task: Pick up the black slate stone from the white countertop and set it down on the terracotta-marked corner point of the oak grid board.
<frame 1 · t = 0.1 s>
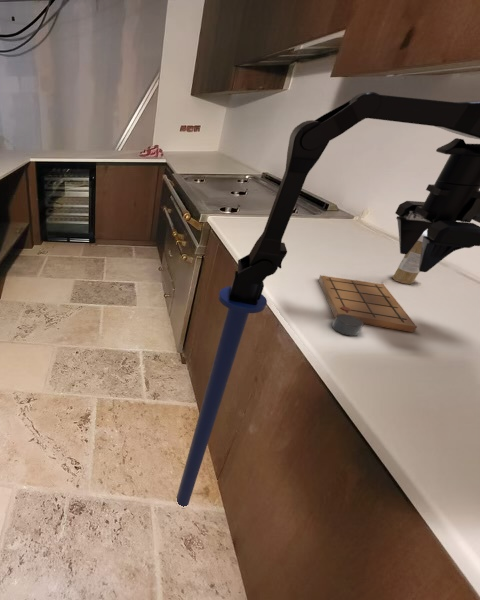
hand: (412, 262, 65), 14 cm above the worktop, tool pointing down, fingers open, 9 cm apart
sprinkles bottle: (402, 281, 87), on the worktop
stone: (344, 329, 69), on the worktop
board: (359, 302, 78), on the worktop
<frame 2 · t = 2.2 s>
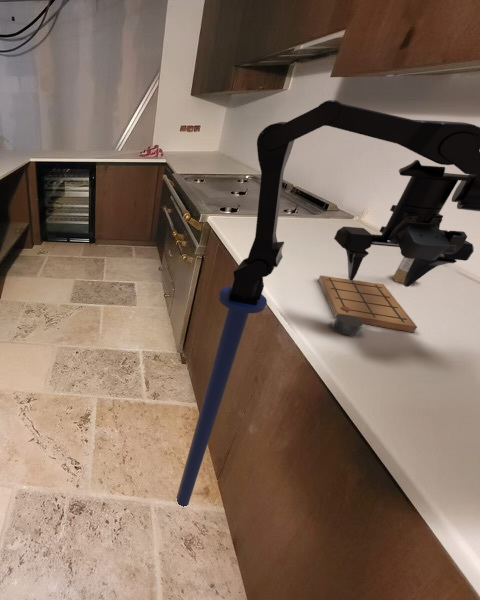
hand: (377, 282, 64), 11 cm above the worktop, tool pointing down, fingers open, 9 cm apart
nothing on the worktop moved.
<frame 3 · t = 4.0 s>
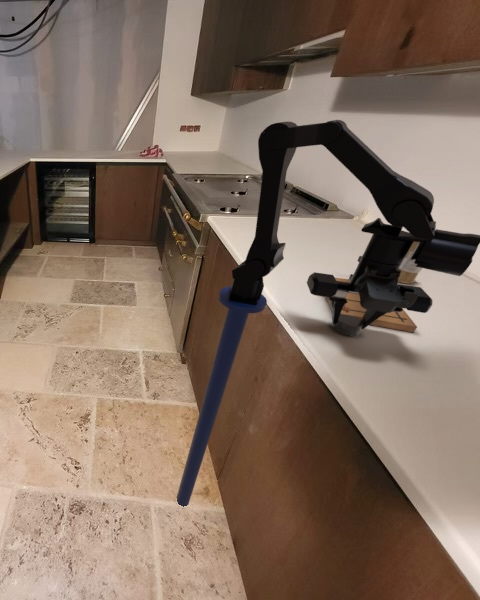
hand: (346, 325, 68), 1 cm above the worktop, tool pointing down, fingers closed on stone, 4 cm apart
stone: (344, 329, 69), on the worktop, touching gripper
everything else where it was.
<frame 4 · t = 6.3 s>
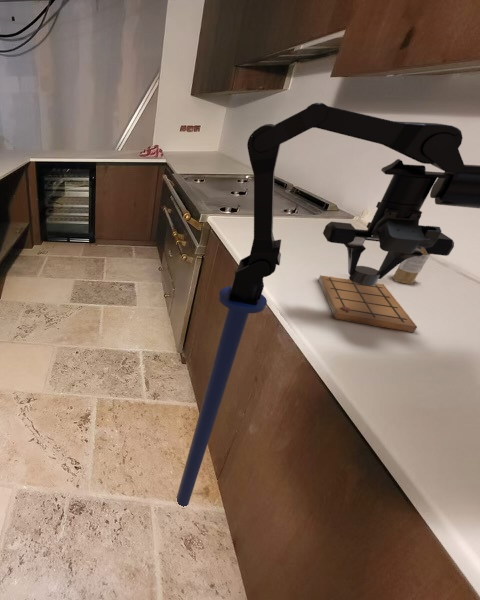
hand: (363, 276, 67), 11 cm above the worktop, tool pointing down, fingers closed on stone, 4 cm apart
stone: (361, 280, 68), point 9 cm above the worktop, touching gripper
everything else where it was.
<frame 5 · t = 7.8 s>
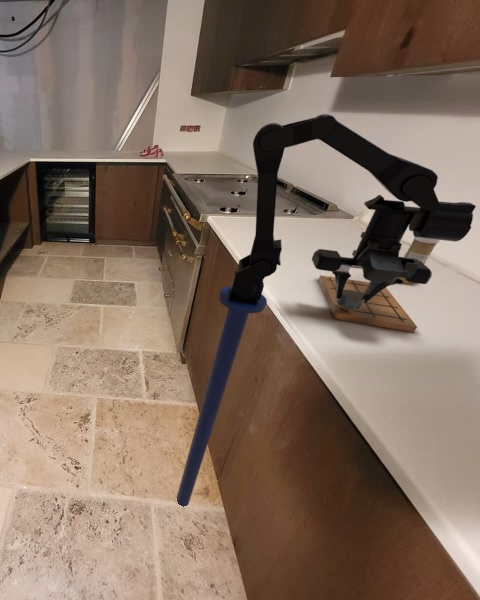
hand: (350, 299, 72), 4 cm above the worktop, tool pointing down, fingers closed on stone, 4 cm apart
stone: (348, 303, 72), point 3 cm above the worktop, touching gripper
everything else where it was.
when the fingers open (3 cm above the worktop, at t = 8.6 s): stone stays where it is, resting on board.
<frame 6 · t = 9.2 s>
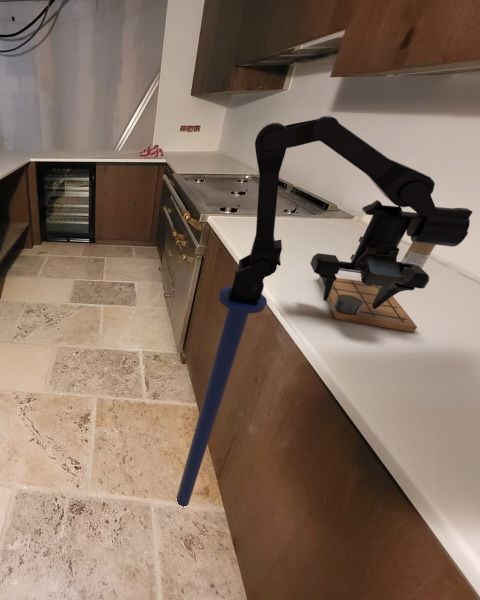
hand: (348, 303, 72), 3 cm above the worktop, tool pointing down, fingers open, 9 cm apart
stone: (345, 308, 73), point 2 cm above the worktop, touching board
everything else where it was.
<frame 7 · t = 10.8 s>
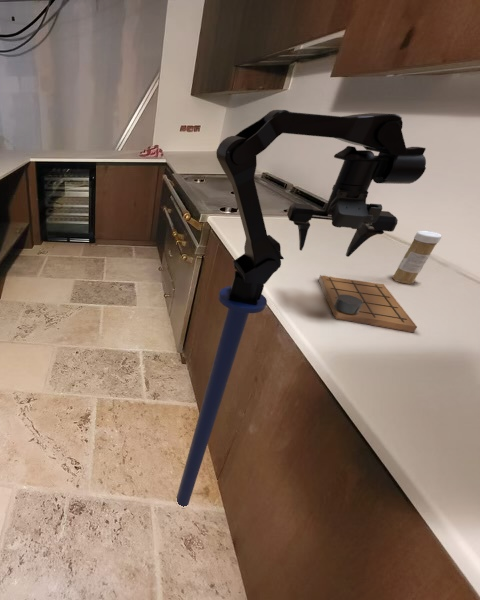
hand: (323, 252, 75), 12 cm above the worktop, tool pointing down, fingers open, 9 cm apart
nothing on the worktop moved.
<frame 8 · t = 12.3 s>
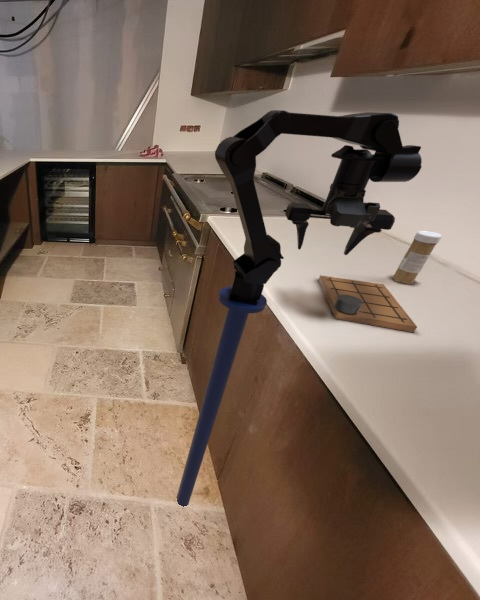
hand: (321, 251, 75), 12 cm above the worktop, tool pointing down, fingers open, 9 cm apart
nothing on the worktop moved.
at the end: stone 0.0 cm from the target spot on the board, point 1.7 cm above the board's base; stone tilted 0°; the gripper is holding nothing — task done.
